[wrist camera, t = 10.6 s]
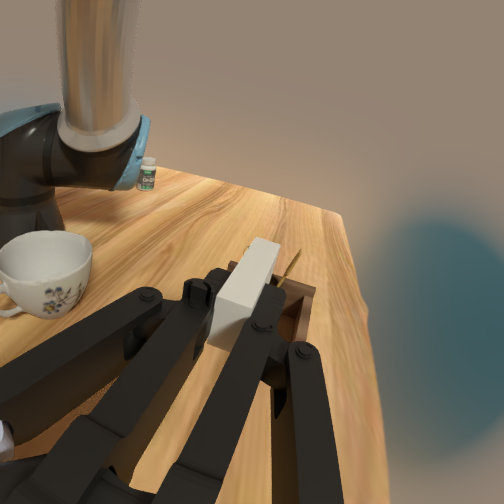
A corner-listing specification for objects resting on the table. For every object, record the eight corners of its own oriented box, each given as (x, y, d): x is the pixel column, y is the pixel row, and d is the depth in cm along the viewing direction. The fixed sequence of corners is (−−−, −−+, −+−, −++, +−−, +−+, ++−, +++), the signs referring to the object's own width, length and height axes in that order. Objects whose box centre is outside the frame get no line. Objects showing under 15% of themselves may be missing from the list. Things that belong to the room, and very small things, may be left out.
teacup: (54, 269, 40) (51, 219, 36) (114, 302, 37) (114, 247, 34) (-21, 315, 26) (-36, 260, 23) (33, 368, 24) (14, 308, 21)
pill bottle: (140, 191, 77) (143, 160, 74) (134, 186, 80) (137, 156, 77) (156, 191, 80) (160, 160, 77) (149, 185, 83) (153, 156, 80)
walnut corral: (295, 364, 35) (308, 333, 33) (197, 331, 37) (202, 298, 35) (305, 315, 45) (315, 287, 42) (224, 289, 46) (231, 260, 44)
